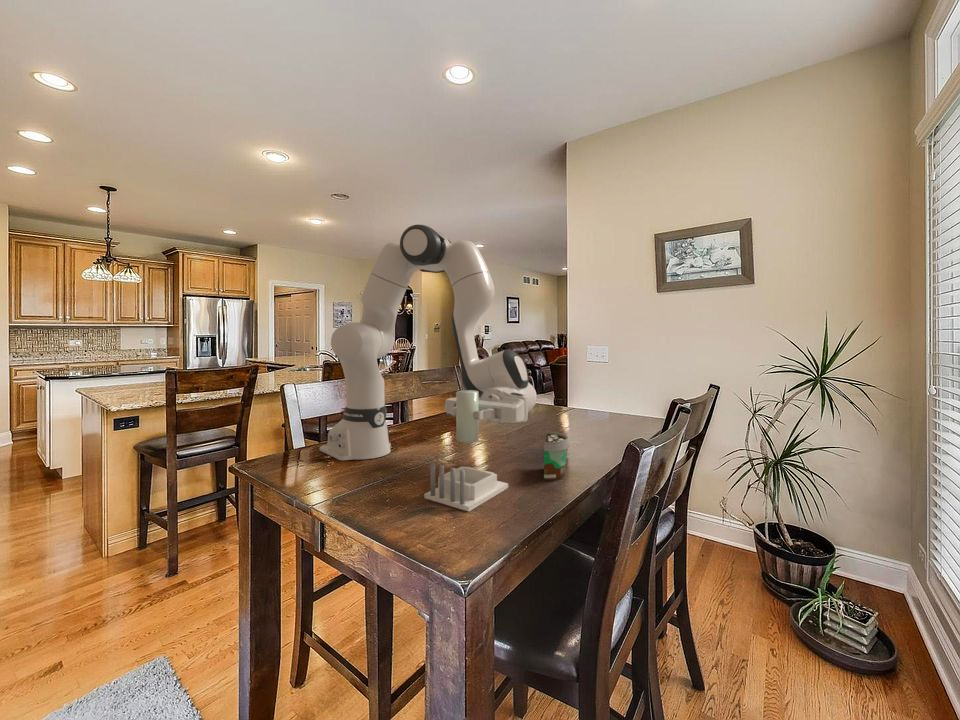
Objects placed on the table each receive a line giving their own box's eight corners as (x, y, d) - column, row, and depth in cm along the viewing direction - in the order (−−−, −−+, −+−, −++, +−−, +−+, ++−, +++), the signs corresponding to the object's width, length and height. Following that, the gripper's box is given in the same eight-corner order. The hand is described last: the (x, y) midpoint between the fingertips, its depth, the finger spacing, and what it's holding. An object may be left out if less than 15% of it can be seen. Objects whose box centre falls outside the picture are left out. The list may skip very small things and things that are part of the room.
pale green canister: (452, 440, 94) (451, 392, 93) (465, 435, 98) (464, 389, 97) (470, 443, 91) (470, 394, 90) (482, 438, 95) (482, 391, 94)
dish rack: (424, 498, 91) (424, 462, 91) (467, 477, 105) (467, 446, 104) (468, 511, 85) (469, 473, 84) (508, 487, 98) (508, 454, 97)
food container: (569, 485, 100) (570, 444, 99) (543, 483, 101) (544, 442, 101) (568, 468, 112) (569, 432, 111) (545, 466, 113) (546, 430, 113)
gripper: (464, 389, 110) (429, 396, 99) (533, 396, 99) (503, 404, 88) (464, 412, 111) (429, 422, 99) (533, 422, 99) (503, 434, 88)
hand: (465, 414), depth 93 cm, fingers closed on pale green canister, 5 cm apart
